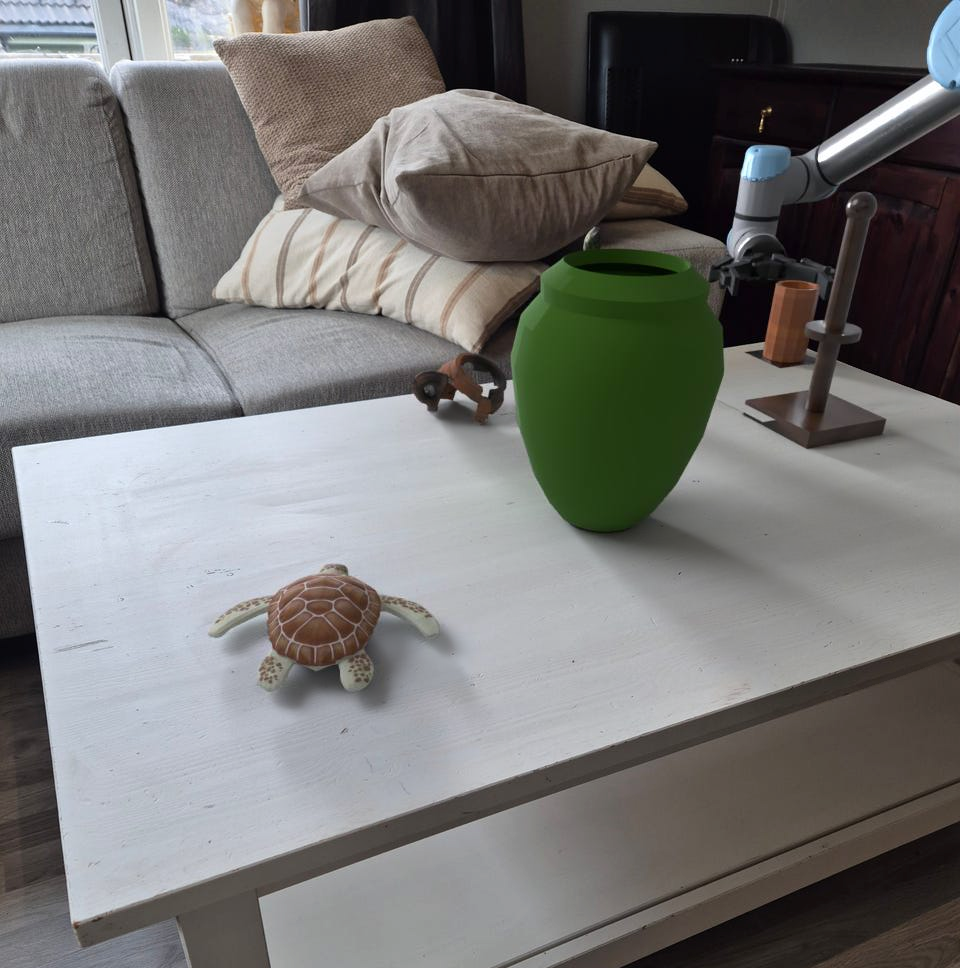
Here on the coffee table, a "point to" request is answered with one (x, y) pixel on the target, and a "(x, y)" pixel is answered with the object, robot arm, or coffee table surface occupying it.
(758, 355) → the low peg
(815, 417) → the brown peg stand
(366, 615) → the decorative turtle
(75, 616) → the coffee table surface
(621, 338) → the vase
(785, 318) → the octagonal wooden sleeve
